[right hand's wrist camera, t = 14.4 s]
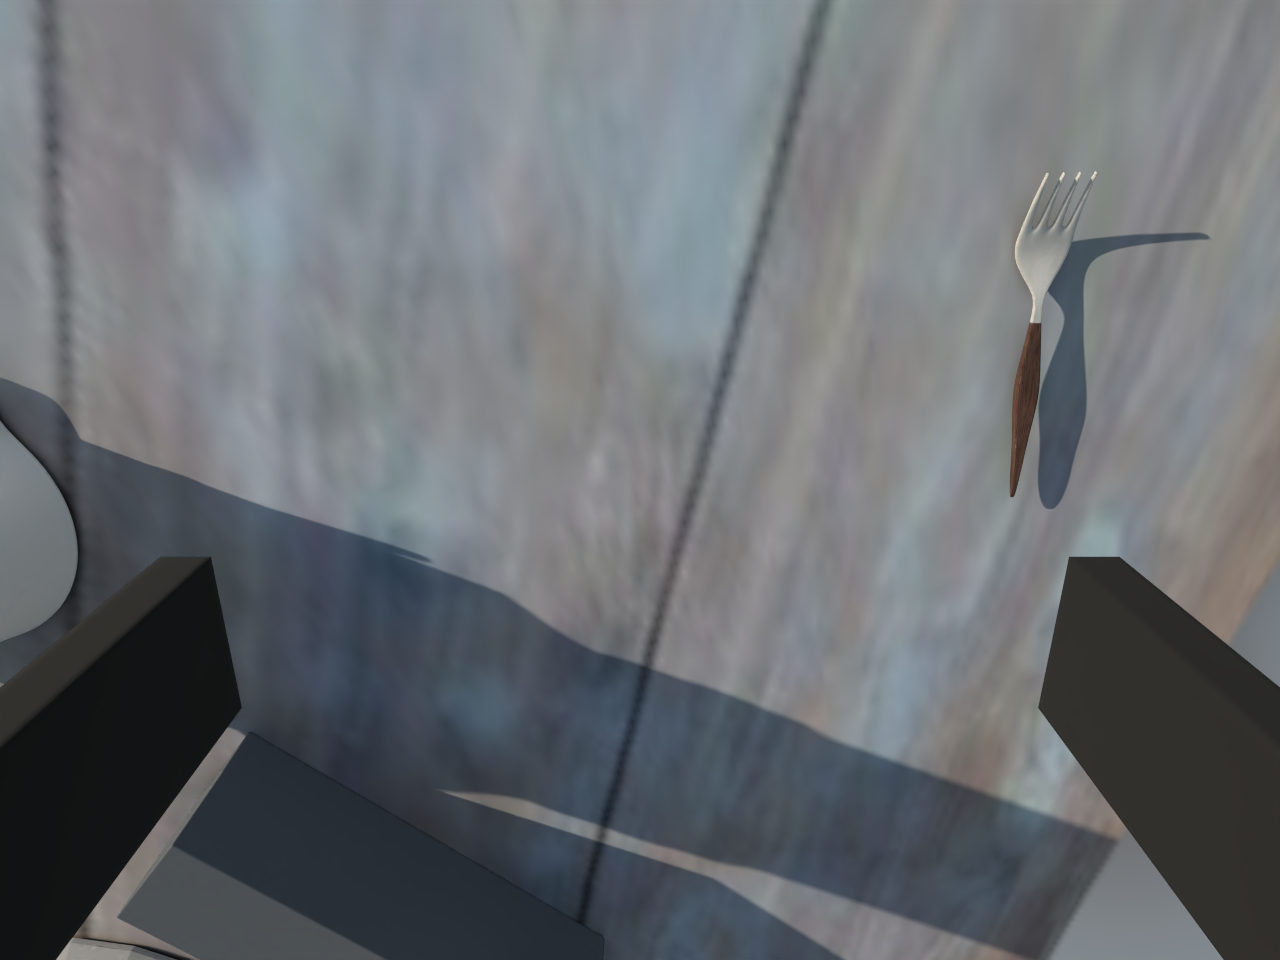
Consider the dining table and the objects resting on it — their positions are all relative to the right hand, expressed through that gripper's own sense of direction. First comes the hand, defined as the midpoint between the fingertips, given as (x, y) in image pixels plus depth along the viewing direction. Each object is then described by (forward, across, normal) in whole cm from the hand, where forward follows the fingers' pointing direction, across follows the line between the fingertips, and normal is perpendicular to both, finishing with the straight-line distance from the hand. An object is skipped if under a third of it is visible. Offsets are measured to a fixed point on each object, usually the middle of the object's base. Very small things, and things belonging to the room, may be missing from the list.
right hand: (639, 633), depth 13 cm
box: (+30, -15, -36) cm, 49 cm away
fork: (+30, +19, -1) cm, 35 cm away
